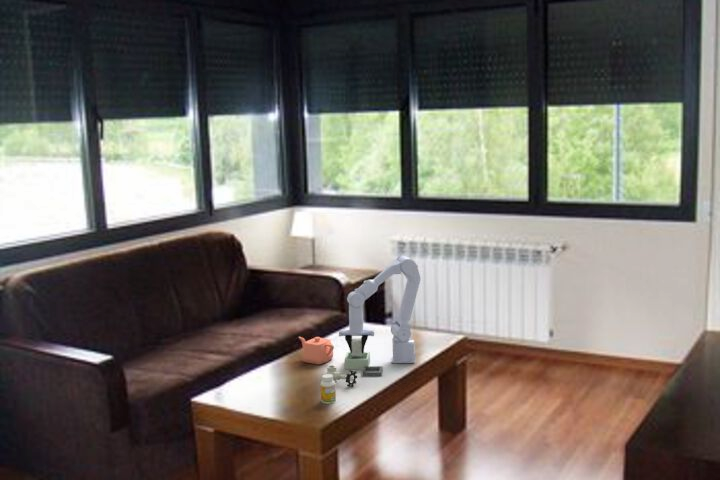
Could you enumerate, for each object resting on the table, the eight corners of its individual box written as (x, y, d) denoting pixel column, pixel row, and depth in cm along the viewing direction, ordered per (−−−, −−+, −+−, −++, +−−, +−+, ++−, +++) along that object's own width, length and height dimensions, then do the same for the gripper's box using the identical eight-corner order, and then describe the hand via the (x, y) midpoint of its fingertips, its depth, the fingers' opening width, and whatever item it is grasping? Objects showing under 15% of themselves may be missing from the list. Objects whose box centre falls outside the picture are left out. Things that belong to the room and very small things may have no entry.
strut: (363, 356, 326) (362, 338, 325) (362, 360, 322) (361, 341, 321) (352, 356, 327) (351, 338, 325) (351, 360, 322) (350, 341, 321)
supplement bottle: (320, 399, 288) (319, 373, 286) (335, 398, 288) (334, 372, 286) (321, 404, 282) (320, 378, 281) (336, 403, 283) (335, 377, 281)
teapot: (326, 367, 323) (325, 343, 321) (291, 361, 332) (290, 337, 331) (341, 360, 332) (340, 336, 331) (307, 354, 342) (306, 331, 340)
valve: (322, 384, 303) (347, 389, 297) (322, 368, 302) (347, 373, 296) (333, 379, 309) (357, 384, 302) (332, 363, 308) (357, 368, 301)
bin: (370, 361, 329) (369, 352, 328) (368, 368, 320) (367, 359, 319) (347, 361, 330) (346, 352, 329) (344, 368, 320) (344, 359, 320)
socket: (382, 369, 318) (382, 366, 317) (381, 376, 310) (381, 372, 310) (364, 369, 318) (364, 366, 318) (362, 376, 311) (362, 372, 311)
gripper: (337, 323, 318) (338, 355, 321) (373, 323, 317) (373, 355, 319) (339, 319, 325) (340, 350, 328) (374, 318, 324) (375, 350, 326)
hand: (357, 352), depth 324 cm, fingers closed on strut, 4 cm apart
